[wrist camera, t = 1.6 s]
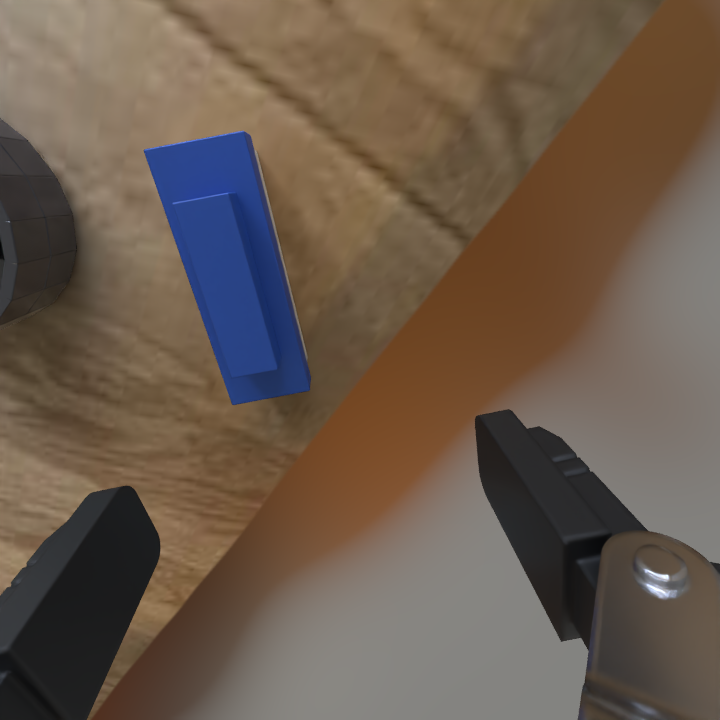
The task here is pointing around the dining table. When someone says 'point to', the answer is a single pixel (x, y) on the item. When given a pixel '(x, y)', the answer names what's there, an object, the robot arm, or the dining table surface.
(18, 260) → the bowl
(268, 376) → the brush
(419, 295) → the dining table surface
